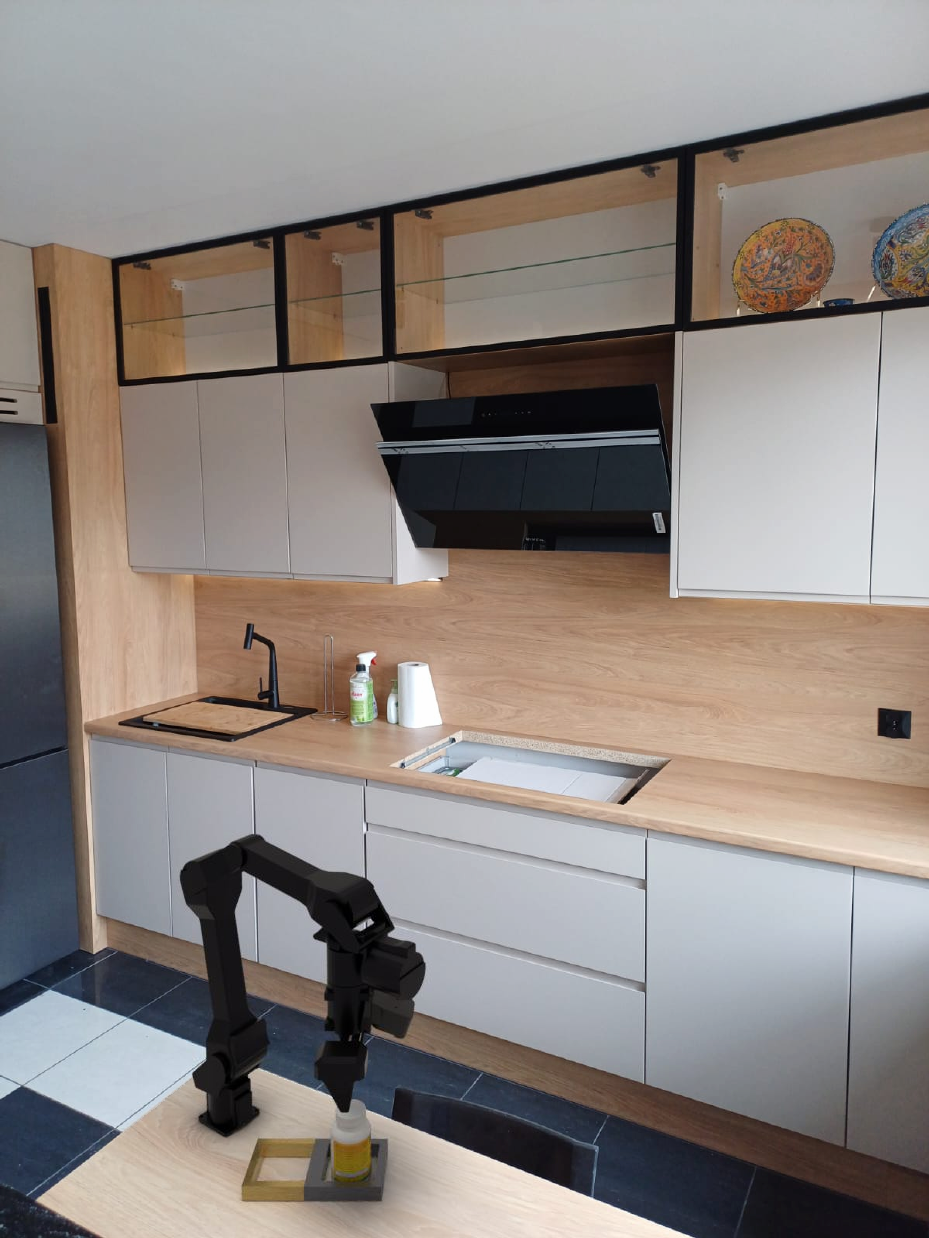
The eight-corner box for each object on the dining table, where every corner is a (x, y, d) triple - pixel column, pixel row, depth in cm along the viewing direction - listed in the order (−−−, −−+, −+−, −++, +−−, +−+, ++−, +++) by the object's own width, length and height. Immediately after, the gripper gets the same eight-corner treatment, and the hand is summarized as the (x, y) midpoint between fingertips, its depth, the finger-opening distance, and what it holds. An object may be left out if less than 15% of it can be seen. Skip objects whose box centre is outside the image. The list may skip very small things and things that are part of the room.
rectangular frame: (241, 1200, 113) (241, 1186, 113) (258, 1151, 122) (257, 1138, 122) (381, 1201, 113) (381, 1186, 113) (387, 1151, 122) (387, 1138, 122)
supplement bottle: (325, 1170, 118) (324, 1103, 117) (362, 1156, 121) (361, 1090, 120) (340, 1196, 114) (338, 1126, 113) (378, 1181, 116) (377, 1113, 115)
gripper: (405, 1016, 105) (405, 1138, 107) (415, 943, 124) (414, 1048, 125) (312, 1015, 105) (314, 1137, 107) (336, 942, 124) (337, 1047, 125)
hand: (349, 1088), depth 116 cm, fingers open, 9 cm apart
